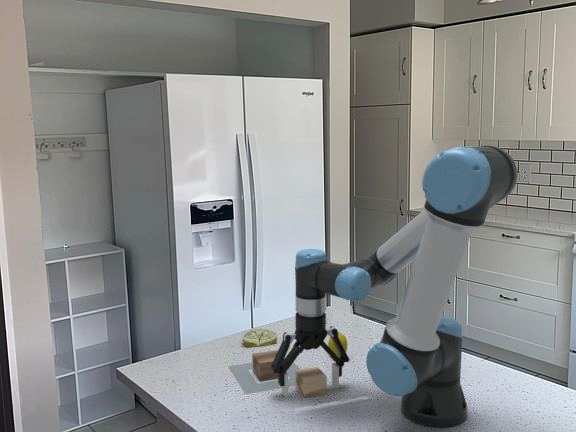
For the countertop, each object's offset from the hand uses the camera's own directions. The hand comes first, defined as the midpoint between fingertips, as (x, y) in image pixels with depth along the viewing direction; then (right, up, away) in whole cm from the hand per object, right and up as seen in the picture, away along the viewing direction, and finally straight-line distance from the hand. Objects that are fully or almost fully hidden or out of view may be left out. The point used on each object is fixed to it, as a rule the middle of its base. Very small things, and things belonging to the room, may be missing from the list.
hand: (310, 393), depth 145 cm
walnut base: (-11, +2, +10) cm, 15 cm away
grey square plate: (-11, +1, +10) cm, 15 cm away
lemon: (+9, +3, +23) cm, 25 cm away
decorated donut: (-14, +4, +35) cm, 38 cm away
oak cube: (0, -1, 0) cm, 1 cm away
